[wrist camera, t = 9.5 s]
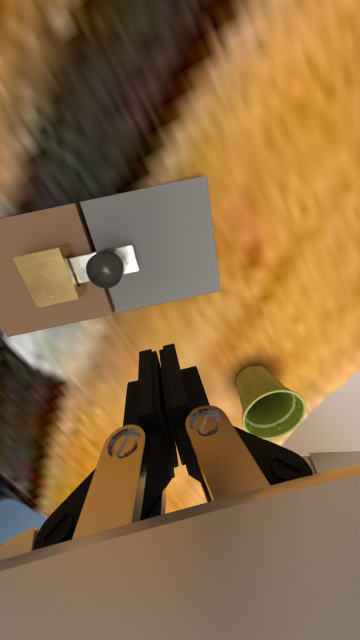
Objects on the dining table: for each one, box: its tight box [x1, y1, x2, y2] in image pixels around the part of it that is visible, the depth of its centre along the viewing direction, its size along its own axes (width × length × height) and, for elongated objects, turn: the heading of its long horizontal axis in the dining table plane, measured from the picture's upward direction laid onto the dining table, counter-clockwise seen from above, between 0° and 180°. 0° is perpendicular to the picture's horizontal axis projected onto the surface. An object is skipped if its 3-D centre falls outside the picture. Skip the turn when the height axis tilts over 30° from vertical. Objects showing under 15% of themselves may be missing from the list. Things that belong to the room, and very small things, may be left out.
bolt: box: [67, 243, 140, 288], centre depth 27 cm, size 4×12×6 cm, turn 100°
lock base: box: [0, 175, 221, 337], centre depth 30 cm, size 14×30×2 cm, turn 100°
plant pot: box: [236, 366, 306, 439], centre depth 38 cm, size 9×9×9 cm
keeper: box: [13, 244, 87, 308], centre depth 28 cm, size 6×5×4 cm
